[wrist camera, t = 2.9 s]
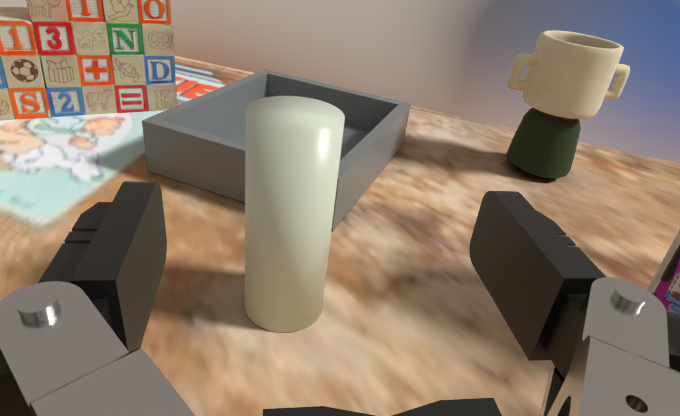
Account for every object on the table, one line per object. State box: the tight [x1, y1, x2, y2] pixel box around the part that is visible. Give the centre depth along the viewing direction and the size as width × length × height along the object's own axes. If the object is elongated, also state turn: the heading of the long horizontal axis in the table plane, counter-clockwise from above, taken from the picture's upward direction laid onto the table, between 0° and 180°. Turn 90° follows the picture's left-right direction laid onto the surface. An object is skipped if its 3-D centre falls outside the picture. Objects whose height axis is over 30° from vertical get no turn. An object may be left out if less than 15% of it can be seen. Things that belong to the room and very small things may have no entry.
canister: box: [245, 96, 345, 333], centre depth 25 cm, size 5×5×12 cm
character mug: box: [506, 30, 630, 179], centre depth 46 cm, size 11×7×13 cm, turn 90°
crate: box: [142, 70, 411, 232], centre depth 44 cm, size 17×19×4 cm
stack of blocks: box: [0, 0, 177, 120], centre depth 47 cm, size 21×6×12 cm, turn 117°
